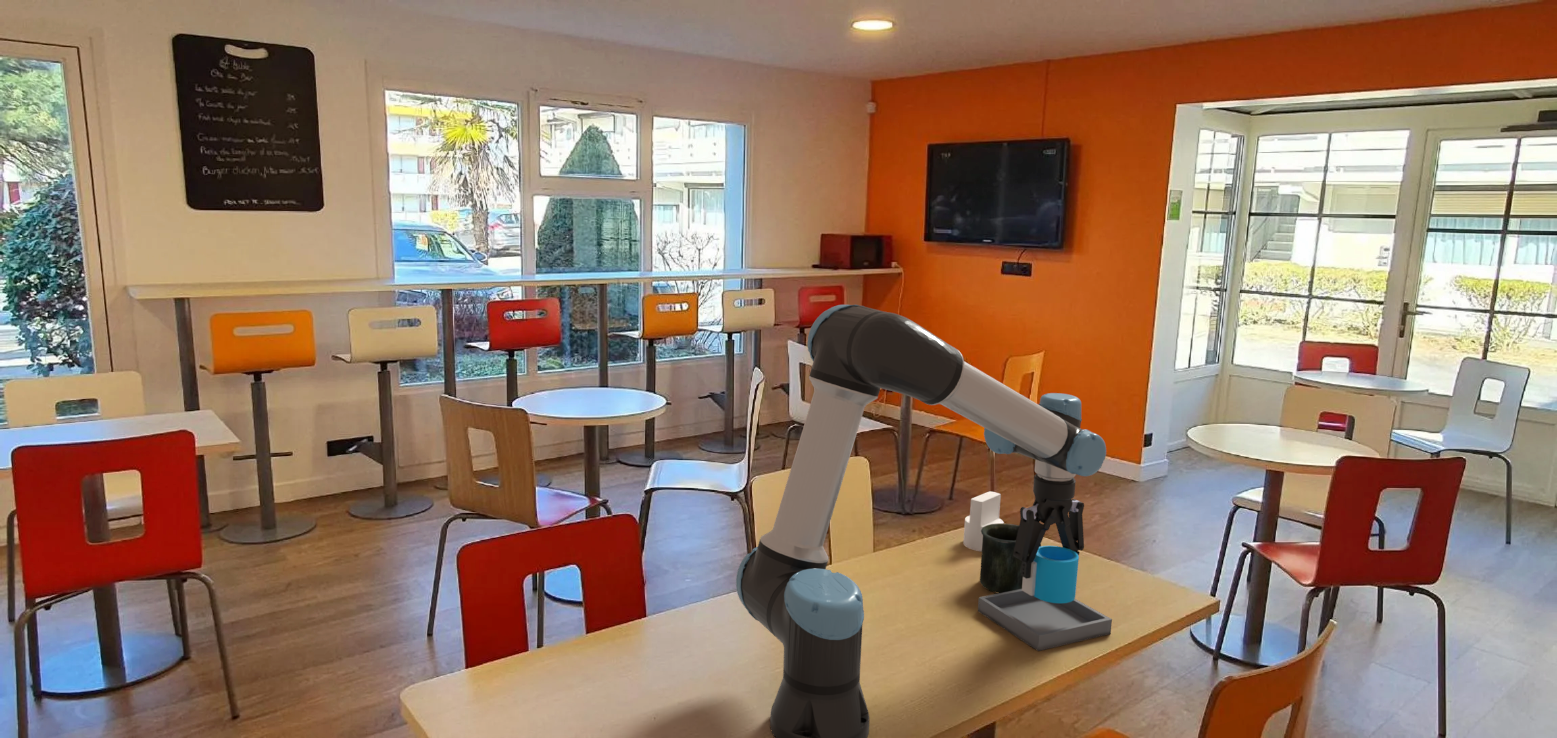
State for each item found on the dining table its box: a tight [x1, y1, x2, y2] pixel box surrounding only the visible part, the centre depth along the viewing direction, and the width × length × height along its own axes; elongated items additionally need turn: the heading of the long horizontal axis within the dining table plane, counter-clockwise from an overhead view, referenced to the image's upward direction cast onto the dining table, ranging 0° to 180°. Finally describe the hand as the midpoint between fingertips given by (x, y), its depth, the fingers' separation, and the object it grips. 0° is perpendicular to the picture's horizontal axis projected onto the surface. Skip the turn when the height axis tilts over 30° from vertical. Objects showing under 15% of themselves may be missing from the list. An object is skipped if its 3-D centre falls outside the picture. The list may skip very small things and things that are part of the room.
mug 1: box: [979, 522, 1042, 594], centre depth 195 cm, size 11×15×12 cm
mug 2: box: [1033, 545, 1080, 603], centre depth 177 cm, size 12×8×8 cm
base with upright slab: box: [962, 491, 1005, 553], centre depth 217 cm, size 9×9×12 cm
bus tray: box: [977, 589, 1113, 652], centre depth 178 cm, size 18×18×3 cm
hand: (1045, 588), depth 177 cm, fingers closed on mug 2, 8 cm apart
